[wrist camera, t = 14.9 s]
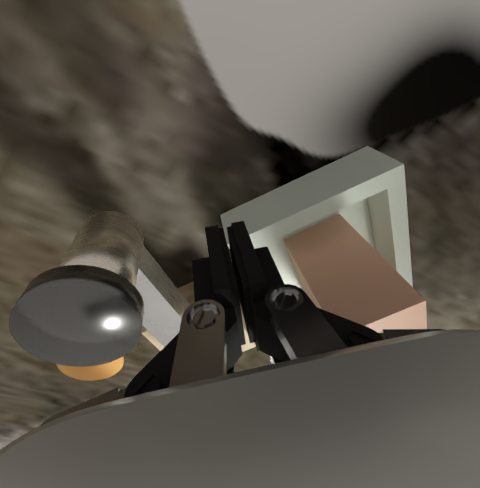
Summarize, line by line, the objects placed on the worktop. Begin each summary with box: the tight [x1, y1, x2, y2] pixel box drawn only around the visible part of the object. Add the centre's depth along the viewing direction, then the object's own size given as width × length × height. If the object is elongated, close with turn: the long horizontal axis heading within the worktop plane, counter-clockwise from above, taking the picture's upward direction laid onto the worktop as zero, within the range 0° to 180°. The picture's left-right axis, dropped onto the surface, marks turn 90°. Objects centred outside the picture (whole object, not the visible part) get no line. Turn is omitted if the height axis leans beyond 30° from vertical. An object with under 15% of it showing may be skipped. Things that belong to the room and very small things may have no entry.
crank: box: [9, 210, 190, 367], centre depth 15 cm, size 14×4×6 cm, turn 23°
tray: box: [220, 146, 413, 291], centre depth 20 cm, size 10×12×4 cm
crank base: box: [56, 282, 256, 380], centre depth 22 cm, size 16×6×3 cm, turn 113°
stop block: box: [283, 214, 427, 333], centre depth 17 cm, size 4×6×8 cm, turn 23°
